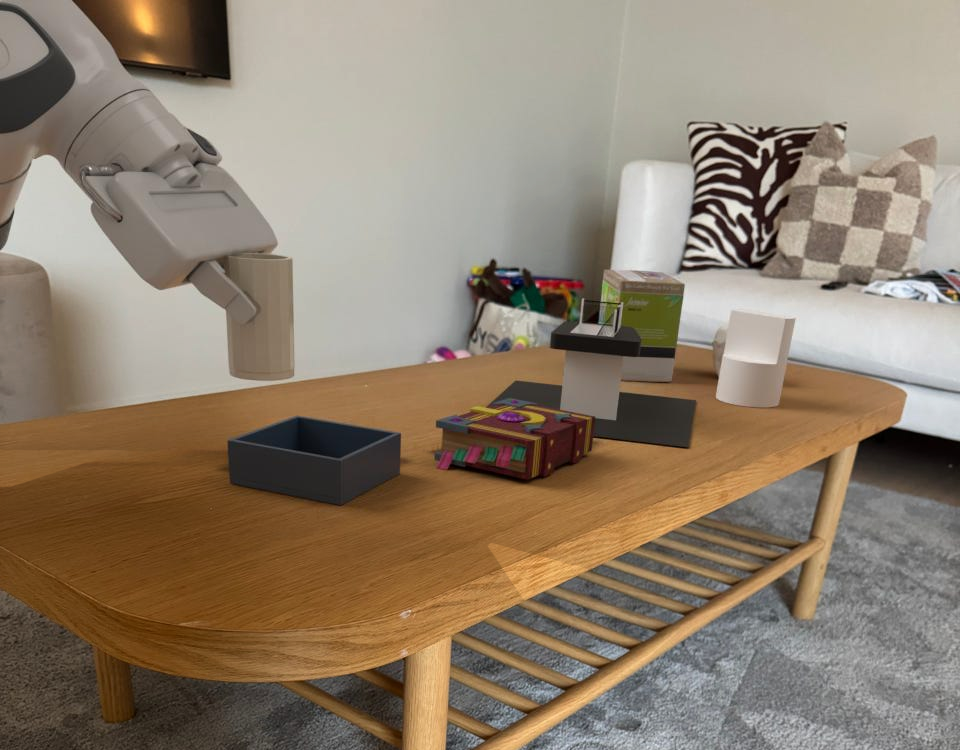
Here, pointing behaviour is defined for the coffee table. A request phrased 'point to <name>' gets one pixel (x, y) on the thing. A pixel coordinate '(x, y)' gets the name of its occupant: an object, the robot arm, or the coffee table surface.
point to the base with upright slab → (754, 358)
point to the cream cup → (262, 318)
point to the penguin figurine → (719, 346)
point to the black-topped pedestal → (606, 384)
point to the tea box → (646, 319)
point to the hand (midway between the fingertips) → (267, 313)
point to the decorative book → (515, 438)
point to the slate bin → (314, 459)
